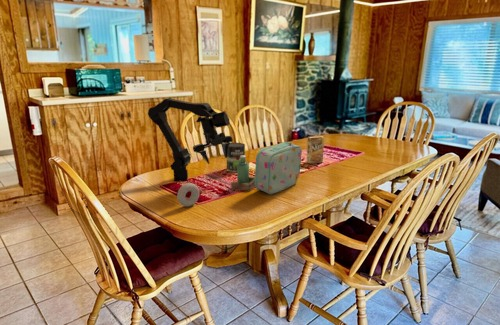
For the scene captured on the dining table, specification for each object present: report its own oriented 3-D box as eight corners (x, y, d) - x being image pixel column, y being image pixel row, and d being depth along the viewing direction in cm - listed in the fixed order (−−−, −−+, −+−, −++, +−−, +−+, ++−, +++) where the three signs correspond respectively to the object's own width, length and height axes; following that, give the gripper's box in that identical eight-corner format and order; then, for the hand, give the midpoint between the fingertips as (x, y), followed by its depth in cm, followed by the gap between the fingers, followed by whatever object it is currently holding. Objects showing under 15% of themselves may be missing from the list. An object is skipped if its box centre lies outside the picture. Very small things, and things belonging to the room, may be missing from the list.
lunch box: (284, 178, 180) (286, 137, 174) (302, 182, 174) (304, 140, 168) (252, 192, 160) (252, 147, 154) (270, 198, 154) (271, 151, 148)
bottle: (242, 187, 165) (241, 158, 161) (235, 183, 169) (234, 155, 165) (251, 184, 168) (251, 156, 164) (244, 181, 173) (244, 153, 169)
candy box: (309, 163, 205) (310, 138, 201) (306, 161, 209) (307, 136, 205) (323, 162, 208) (324, 137, 203) (319, 160, 211) (321, 135, 207)
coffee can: (247, 171, 191) (247, 146, 187) (228, 172, 188) (228, 147, 185) (242, 166, 201) (242, 142, 197) (224, 167, 198) (224, 143, 194)
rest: (231, 188, 165) (231, 182, 165) (238, 181, 175) (238, 175, 174) (250, 190, 163) (250, 184, 162) (257, 183, 172) (257, 177, 172)
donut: (197, 201, 150) (196, 179, 147) (201, 204, 148) (200, 181, 145) (176, 208, 144) (174, 185, 141) (180, 210, 141) (179, 187, 139)
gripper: (195, 135, 155) (205, 168, 158) (233, 124, 163) (241, 156, 166) (188, 134, 165) (197, 166, 168) (224, 124, 173) (232, 154, 176)
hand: (217, 160), depth 169 cm, fingers open, 9 cm apart
